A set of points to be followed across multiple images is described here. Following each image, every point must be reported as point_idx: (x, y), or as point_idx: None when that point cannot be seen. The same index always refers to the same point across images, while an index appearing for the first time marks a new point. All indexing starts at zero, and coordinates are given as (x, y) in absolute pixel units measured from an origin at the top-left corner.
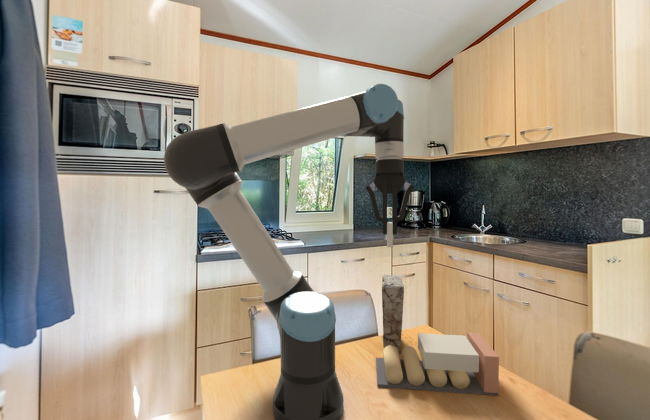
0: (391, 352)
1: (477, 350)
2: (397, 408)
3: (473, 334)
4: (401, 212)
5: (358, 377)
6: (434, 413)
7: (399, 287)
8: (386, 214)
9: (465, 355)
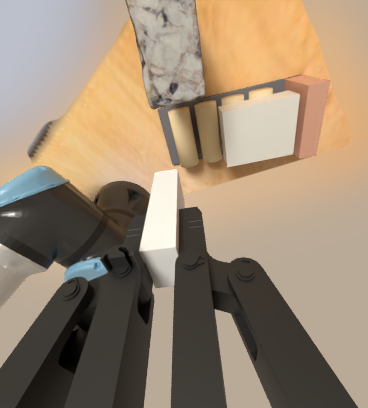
0: (182, 134)
1: (299, 132)
2: (195, 185)
3: (315, 91)
4: (254, 351)
5: (149, 155)
6: (225, 181)
7: (194, 99)
8: (146, 343)
9: (276, 157)
